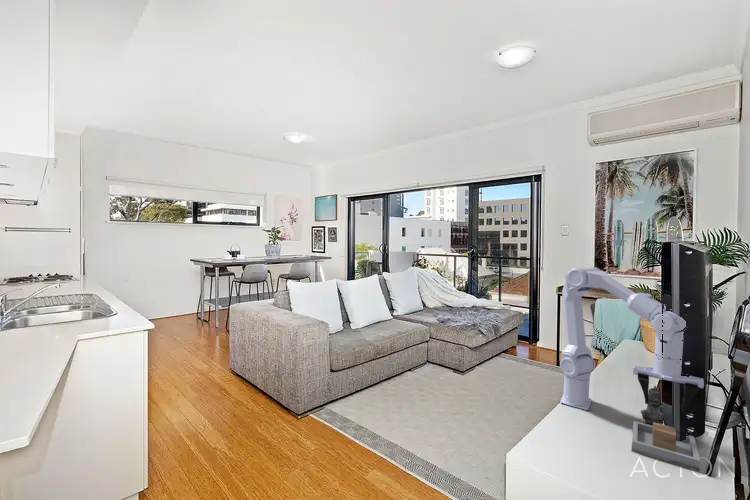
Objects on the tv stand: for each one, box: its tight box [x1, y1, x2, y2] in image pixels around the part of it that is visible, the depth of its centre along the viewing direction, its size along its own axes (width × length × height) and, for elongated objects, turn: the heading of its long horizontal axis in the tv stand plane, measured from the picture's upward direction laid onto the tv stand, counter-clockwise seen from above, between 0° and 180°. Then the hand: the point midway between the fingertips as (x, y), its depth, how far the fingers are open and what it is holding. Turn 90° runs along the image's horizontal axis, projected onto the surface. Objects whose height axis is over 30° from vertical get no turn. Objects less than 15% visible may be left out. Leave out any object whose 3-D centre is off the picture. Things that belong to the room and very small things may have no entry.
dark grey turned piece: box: [640, 385, 665, 426], centre depth 106 cm, size 6×6×12 cm
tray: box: [631, 420, 701, 472], centre depth 95 cm, size 13×13×2 cm
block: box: [652, 422, 677, 452], centre depth 95 cm, size 4×4×4 cm
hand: (664, 406), depth 98 cm, fingers open, 7 cm apart
